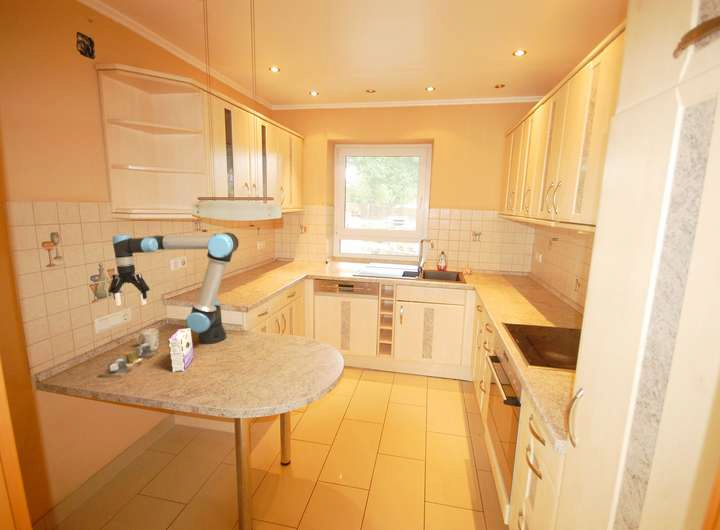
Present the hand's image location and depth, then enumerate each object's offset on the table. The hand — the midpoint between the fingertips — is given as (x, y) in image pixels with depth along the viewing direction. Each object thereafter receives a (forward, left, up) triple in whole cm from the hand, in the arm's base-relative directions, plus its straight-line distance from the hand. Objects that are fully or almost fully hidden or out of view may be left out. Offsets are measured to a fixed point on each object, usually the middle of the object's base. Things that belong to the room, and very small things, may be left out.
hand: (131, 305), depth 176 cm
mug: (-2, -6, -27) cm, 27 cm away
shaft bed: (-6, +13, -27) cm, 30 cm away
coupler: (-6, +13, -25) cm, 29 cm away
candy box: (-34, +14, -27) cm, 45 cm away
